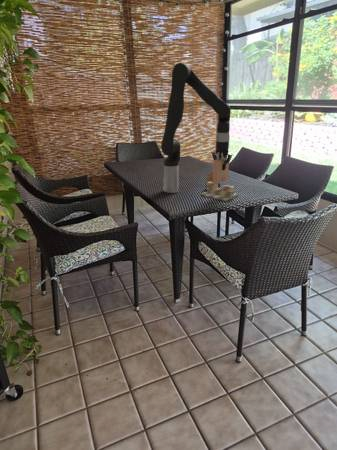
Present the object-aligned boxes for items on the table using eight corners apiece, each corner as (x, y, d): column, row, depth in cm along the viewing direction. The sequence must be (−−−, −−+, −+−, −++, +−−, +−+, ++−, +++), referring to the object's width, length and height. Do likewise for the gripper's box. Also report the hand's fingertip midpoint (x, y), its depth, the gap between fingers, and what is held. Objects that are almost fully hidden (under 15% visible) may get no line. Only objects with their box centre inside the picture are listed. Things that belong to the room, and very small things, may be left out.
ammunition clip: (207, 189, 206) (208, 171, 201) (205, 189, 208) (206, 171, 203) (220, 187, 211) (220, 169, 206) (218, 186, 212) (219, 169, 208)
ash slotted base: (201, 195, 195) (201, 184, 192) (214, 190, 204) (214, 179, 201) (225, 201, 183) (226, 189, 180) (238, 195, 193) (239, 184, 190)
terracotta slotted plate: (212, 183, 187) (213, 160, 182) (223, 179, 195) (225, 157, 190) (216, 184, 185) (217, 160, 180) (227, 180, 193) (229, 157, 188)
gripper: (209, 140, 183) (207, 169, 189) (229, 142, 174) (227, 172, 180) (216, 138, 188) (215, 167, 194) (236, 140, 179) (234, 170, 185)
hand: (221, 169), depth 187 cm, fingers closed on terracotta slotted plate, 3 cm apart
